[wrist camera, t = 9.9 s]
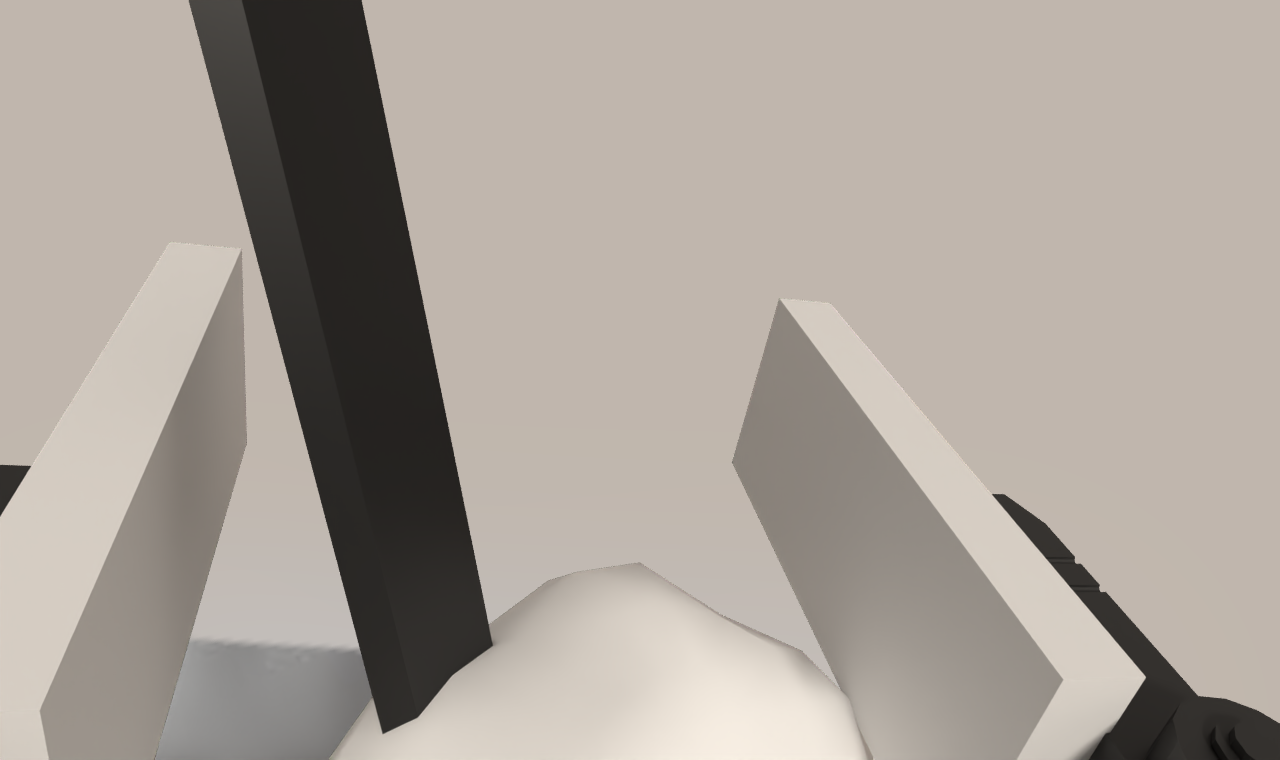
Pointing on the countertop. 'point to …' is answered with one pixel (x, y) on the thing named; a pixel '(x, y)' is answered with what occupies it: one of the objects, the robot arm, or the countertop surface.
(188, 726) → the countertop surface
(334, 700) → the countertop surface
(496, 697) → the cocoa
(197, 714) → the countertop surface
